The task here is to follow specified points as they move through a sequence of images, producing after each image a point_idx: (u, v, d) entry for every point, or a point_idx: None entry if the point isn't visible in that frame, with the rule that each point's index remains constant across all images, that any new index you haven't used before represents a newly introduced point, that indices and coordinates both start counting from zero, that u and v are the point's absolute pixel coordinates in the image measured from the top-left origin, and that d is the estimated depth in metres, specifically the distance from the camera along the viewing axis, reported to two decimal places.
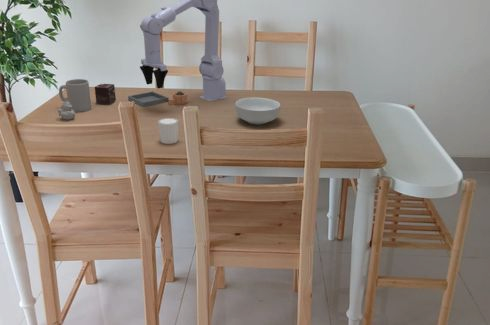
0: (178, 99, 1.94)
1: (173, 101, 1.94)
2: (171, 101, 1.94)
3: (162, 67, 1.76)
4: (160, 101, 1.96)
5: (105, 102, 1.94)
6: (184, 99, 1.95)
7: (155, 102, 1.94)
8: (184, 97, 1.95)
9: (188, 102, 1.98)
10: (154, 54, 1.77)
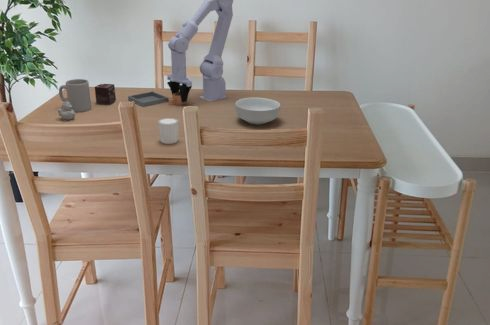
0: (178, 99, 1.94)
1: (173, 101, 1.94)
2: (171, 101, 1.94)
3: (188, 83, 1.89)
4: (160, 101, 1.96)
5: (105, 102, 1.94)
6: None
7: (155, 102, 1.94)
8: None
9: (188, 102, 1.98)
10: (180, 71, 1.90)
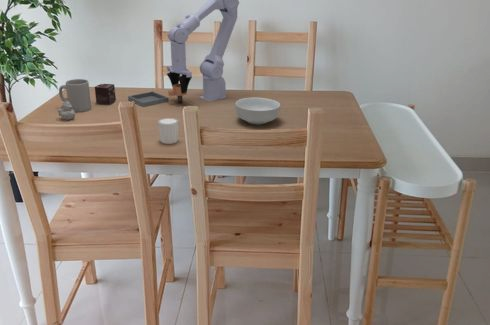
0: (178, 90, 1.93)
1: (173, 92, 1.93)
2: (171, 92, 1.92)
3: (188, 74, 1.87)
4: (160, 101, 1.96)
5: (105, 102, 1.94)
6: None
7: (155, 102, 1.94)
8: None
9: (188, 102, 1.98)
10: (180, 61, 1.88)
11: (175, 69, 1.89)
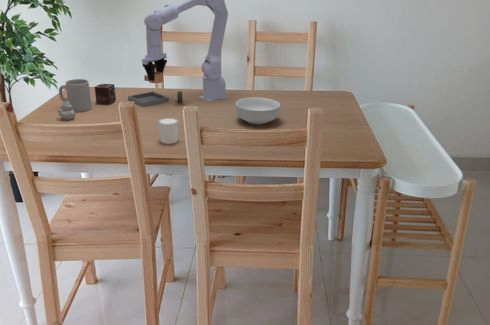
0: None
1: (147, 77, 1.95)
2: (145, 77, 1.95)
3: (142, 60, 1.85)
4: (160, 101, 1.96)
5: (105, 102, 1.94)
6: None
7: (155, 102, 1.94)
8: None
9: (188, 102, 1.98)
10: (148, 48, 1.88)
11: (147, 55, 1.91)
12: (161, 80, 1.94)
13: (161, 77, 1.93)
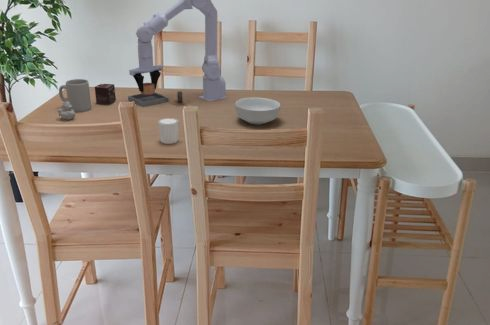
0: None
1: None
2: None
3: (129, 71, 1.89)
4: (160, 101, 1.96)
5: (105, 102, 1.94)
6: None
7: (155, 102, 1.94)
8: None
9: (188, 102, 1.98)
10: None
11: None
12: (151, 92, 1.95)
13: (151, 89, 1.95)
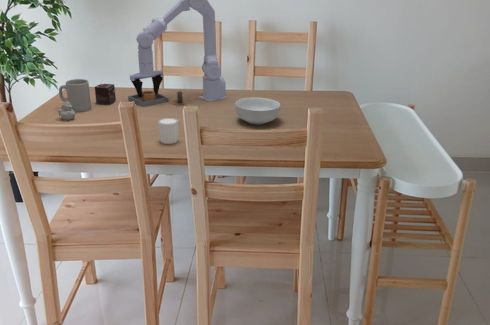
0: None
1: None
2: None
3: (130, 77, 1.90)
4: (160, 101, 1.96)
5: (105, 102, 1.94)
6: (142, 97, 1.96)
7: (155, 102, 1.94)
8: (142, 95, 1.96)
9: (188, 102, 1.98)
10: (139, 65, 1.92)
11: None
12: (151, 100, 1.97)
13: (151, 97, 1.96)
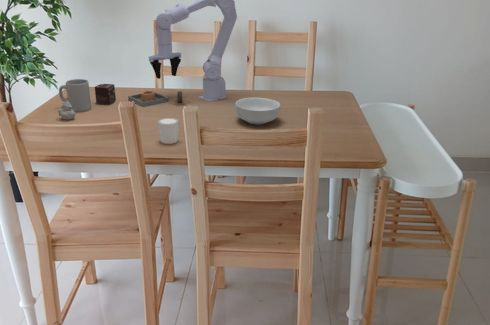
0: None
1: None
2: (141, 95, 2.01)
3: (149, 58, 1.91)
4: (160, 101, 1.96)
5: (105, 102, 1.94)
6: (142, 97, 1.96)
7: (155, 102, 1.94)
8: (142, 95, 1.96)
9: (188, 102, 1.98)
10: None
11: None
12: (151, 100, 1.97)
13: (151, 97, 1.96)
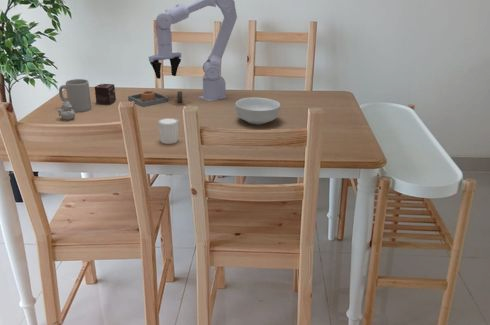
0: None
1: None
2: (141, 95, 2.01)
3: (149, 58, 1.91)
4: (160, 101, 1.96)
5: (105, 102, 1.94)
6: (142, 97, 1.96)
7: (155, 102, 1.94)
8: (142, 95, 1.96)
9: (188, 102, 1.98)
10: None
11: None
12: (151, 100, 1.97)
13: (151, 97, 1.96)
